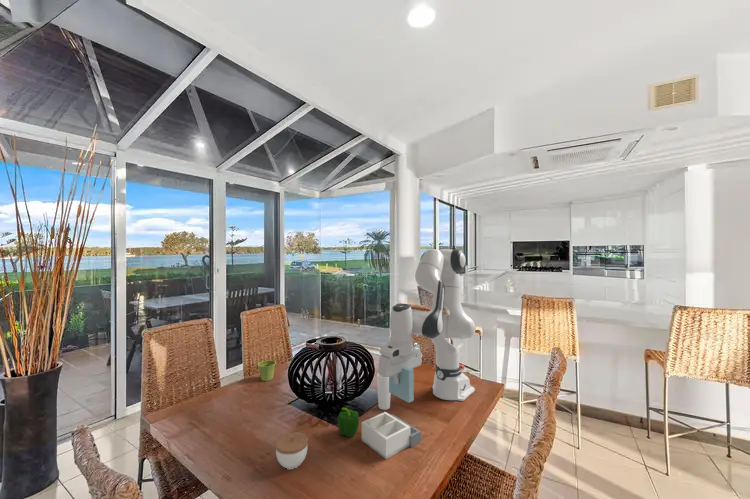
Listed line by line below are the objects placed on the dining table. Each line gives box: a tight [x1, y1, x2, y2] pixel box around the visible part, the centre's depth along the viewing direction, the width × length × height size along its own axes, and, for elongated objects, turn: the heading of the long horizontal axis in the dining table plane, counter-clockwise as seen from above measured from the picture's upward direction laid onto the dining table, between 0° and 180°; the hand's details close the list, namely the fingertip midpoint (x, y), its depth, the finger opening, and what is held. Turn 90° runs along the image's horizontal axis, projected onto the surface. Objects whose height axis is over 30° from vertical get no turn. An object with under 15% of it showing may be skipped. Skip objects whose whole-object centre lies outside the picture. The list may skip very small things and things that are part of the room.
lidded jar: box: [274, 431, 309, 470], centre depth 112 cm, size 11×11×9 cm
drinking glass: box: [376, 372, 392, 411], centre depth 149 cm, size 7×7×15 cm
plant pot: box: [257, 359, 277, 382], centre depth 180 cm, size 9×9×9 cm
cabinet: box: [361, 411, 422, 460], centre depth 125 cm, size 17×16×7 cm
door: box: [389, 367, 415, 403], centre depth 128 cm, size 3×11×12 cm, turn 40°
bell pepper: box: [337, 407, 360, 438], centre depth 129 cm, size 8×8×10 cm
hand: (401, 382), depth 128 cm, fingers closed on door, 3 cm apart
